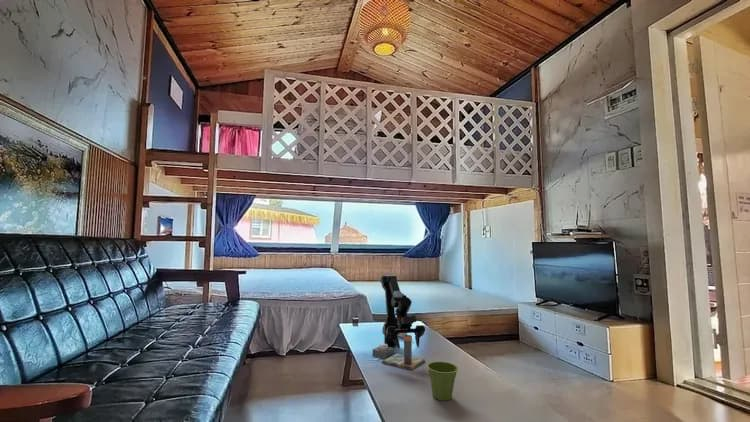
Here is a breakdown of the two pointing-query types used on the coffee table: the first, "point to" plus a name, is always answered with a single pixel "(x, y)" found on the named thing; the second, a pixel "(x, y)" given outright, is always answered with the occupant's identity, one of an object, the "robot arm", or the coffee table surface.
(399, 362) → the picture board
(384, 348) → the button
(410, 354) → the marker
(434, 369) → the plant pot
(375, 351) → the button housing
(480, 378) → the coffee table surface
